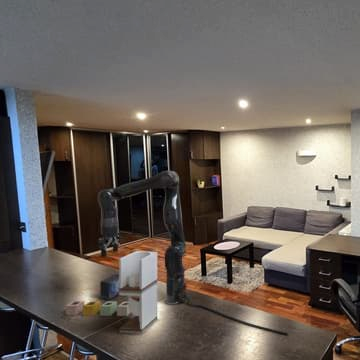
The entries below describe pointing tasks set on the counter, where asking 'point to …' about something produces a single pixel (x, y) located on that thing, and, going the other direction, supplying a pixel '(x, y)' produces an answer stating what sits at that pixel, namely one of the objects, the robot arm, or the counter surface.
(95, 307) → the mustard block
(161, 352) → the counter surface
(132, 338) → the counter surface
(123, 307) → the cream block
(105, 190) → the robot arm
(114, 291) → the small box
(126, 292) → the white shelf unit
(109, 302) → the sage block
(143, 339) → the counter surface
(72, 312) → the blush block
